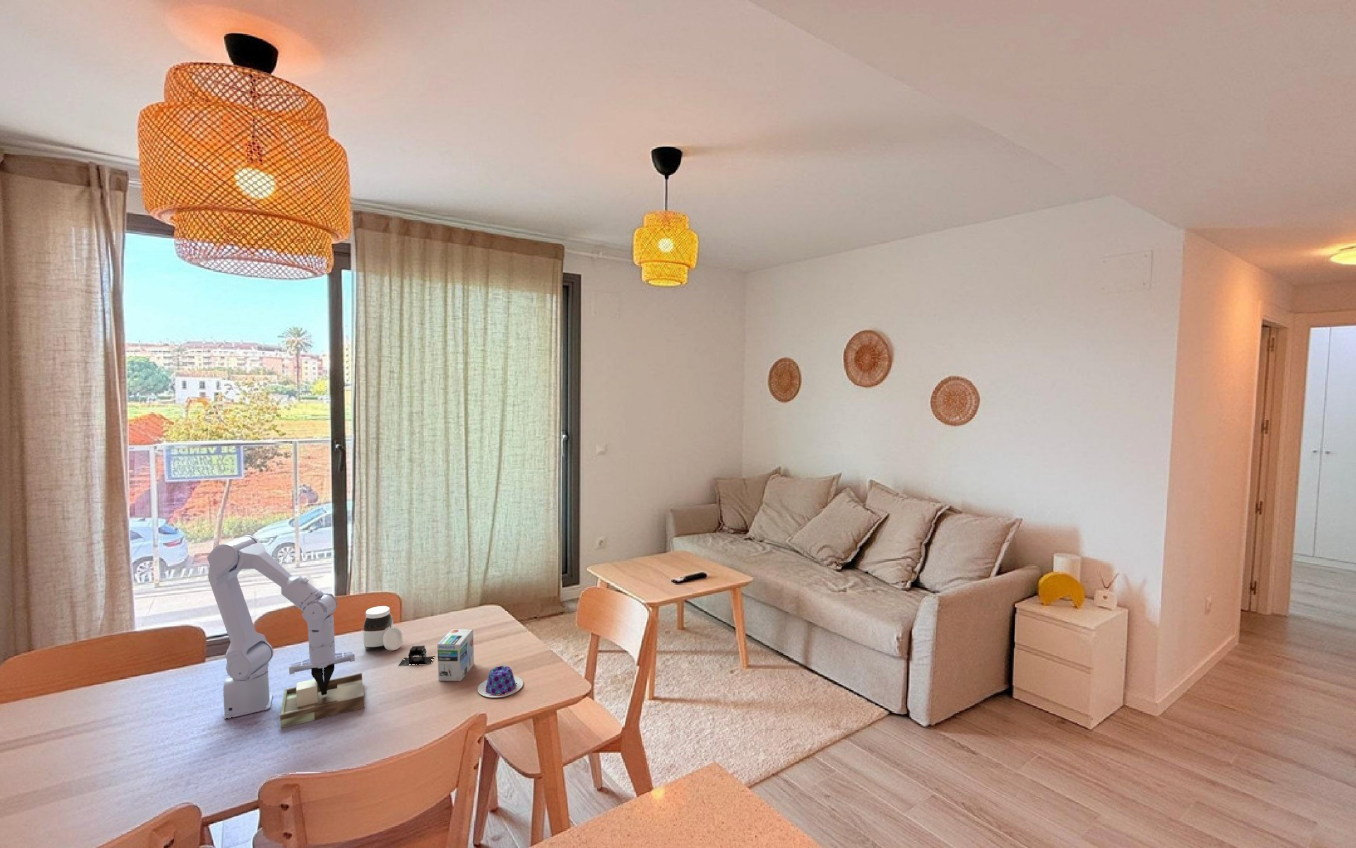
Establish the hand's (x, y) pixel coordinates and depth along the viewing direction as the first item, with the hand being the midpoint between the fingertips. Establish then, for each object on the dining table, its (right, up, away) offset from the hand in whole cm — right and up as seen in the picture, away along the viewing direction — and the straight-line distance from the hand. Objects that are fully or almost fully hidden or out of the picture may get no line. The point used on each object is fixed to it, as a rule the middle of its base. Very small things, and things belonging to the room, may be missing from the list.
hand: (324, 693), depth 155 cm
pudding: (+43, -3, +9) cm, 44 cm away
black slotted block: (+14, -2, +24) cm, 28 cm away
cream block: (-3, -1, -2) cm, 4 cm away
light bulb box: (+28, -2, +17) cm, 33 cm away
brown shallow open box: (0, -3, 0) cm, 3 cm away
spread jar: (-1, -1, +34) cm, 34 cm away
